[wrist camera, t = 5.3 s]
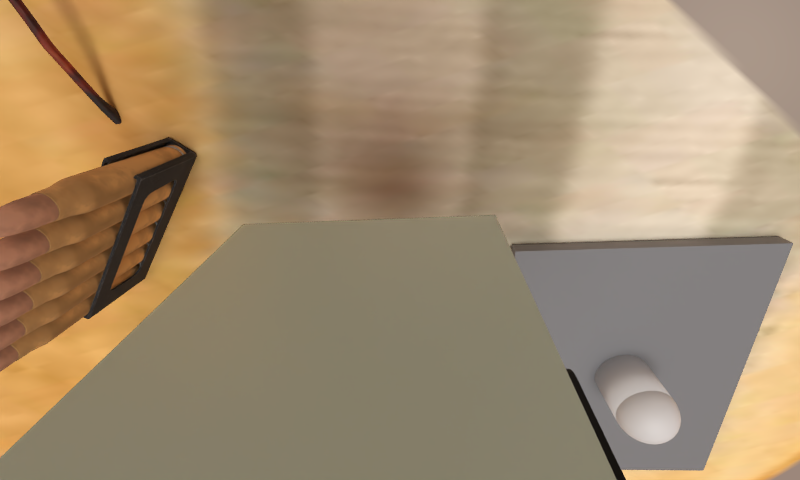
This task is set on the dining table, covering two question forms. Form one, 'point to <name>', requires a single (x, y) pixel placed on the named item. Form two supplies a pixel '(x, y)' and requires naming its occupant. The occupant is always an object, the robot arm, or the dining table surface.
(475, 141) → the dining table surface
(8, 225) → the ammunition clip
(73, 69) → the sunglasses
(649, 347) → the board
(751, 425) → the dining table surface
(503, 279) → the block with round peg
